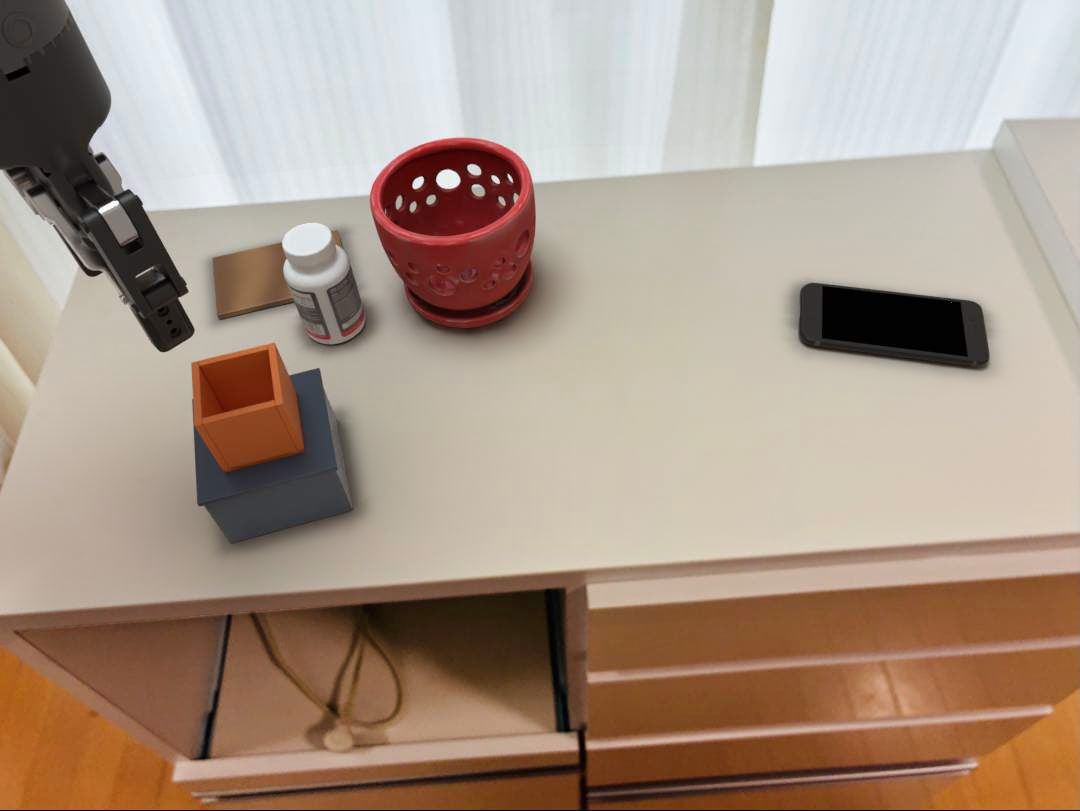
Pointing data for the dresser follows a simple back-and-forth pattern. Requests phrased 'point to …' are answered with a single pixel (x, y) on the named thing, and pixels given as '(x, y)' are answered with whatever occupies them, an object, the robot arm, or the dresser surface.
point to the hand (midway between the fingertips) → (139, 303)
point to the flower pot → (458, 230)
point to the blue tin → (280, 475)
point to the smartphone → (893, 324)
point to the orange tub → (246, 408)
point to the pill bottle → (322, 284)
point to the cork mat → (252, 280)
